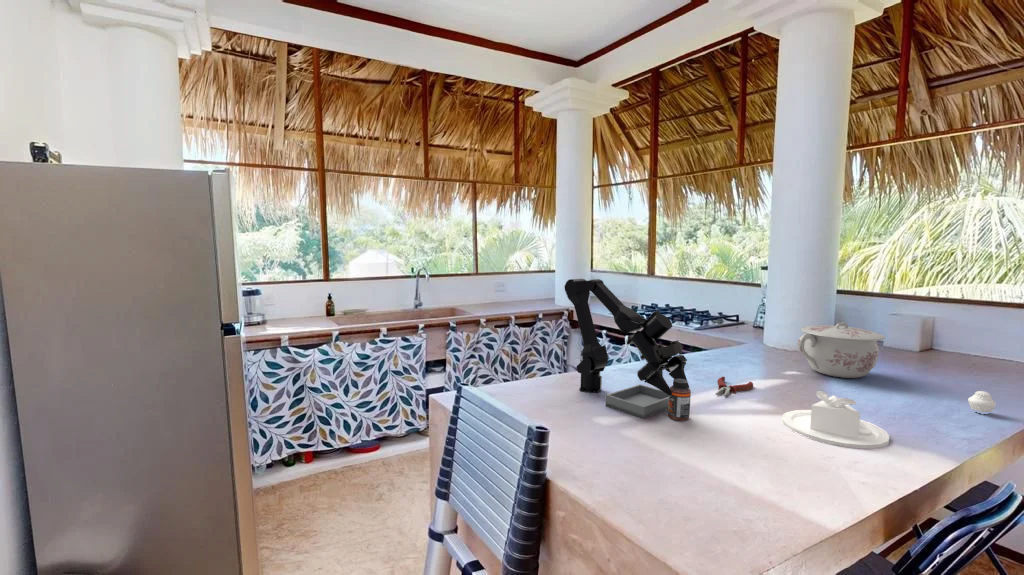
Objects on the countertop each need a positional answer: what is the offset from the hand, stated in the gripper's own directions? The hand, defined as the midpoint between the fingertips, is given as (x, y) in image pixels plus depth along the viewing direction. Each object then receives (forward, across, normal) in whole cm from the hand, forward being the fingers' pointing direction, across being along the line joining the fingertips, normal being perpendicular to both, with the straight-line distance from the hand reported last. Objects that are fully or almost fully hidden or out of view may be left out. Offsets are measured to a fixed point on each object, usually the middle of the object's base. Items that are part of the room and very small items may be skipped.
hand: (679, 391), depth 140 cm
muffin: (+46, +78, -34) cm, 96 cm away
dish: (+28, +26, -16) cm, 42 cm away
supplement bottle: (+6, 0, +6) cm, 8 cm away
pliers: (+3, +39, +10) cm, 40 cm away
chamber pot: (+16, +93, -4) cm, 95 cm away
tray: (-4, 0, +15) cm, 15 cm away
